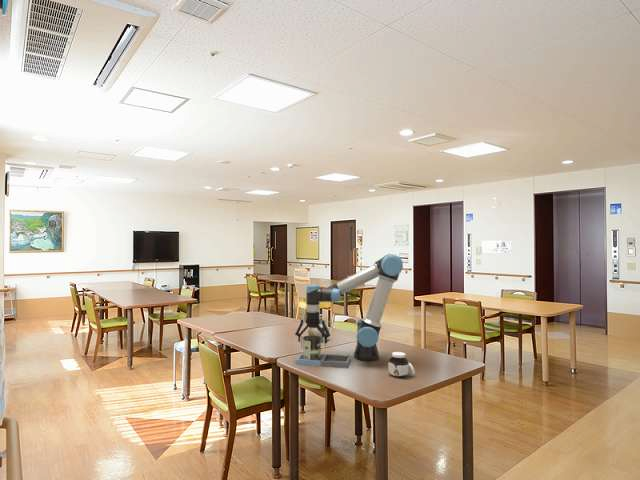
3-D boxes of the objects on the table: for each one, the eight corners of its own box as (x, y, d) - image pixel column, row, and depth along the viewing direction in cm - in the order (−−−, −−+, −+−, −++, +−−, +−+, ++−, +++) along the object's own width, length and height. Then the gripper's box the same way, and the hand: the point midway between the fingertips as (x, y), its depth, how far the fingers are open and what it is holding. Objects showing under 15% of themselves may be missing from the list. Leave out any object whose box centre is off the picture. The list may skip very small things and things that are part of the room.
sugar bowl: (333, 342, 287) (334, 321, 287) (313, 344, 281) (314, 322, 282) (322, 336, 305) (323, 316, 305) (303, 338, 300) (304, 317, 300)
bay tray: (350, 360, 243) (350, 355, 243) (347, 368, 228) (347, 363, 228) (302, 357, 248) (302, 352, 248) (296, 364, 234) (296, 359, 234)
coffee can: (322, 359, 243) (322, 335, 244) (318, 364, 233) (318, 339, 234) (305, 358, 246) (305, 334, 246) (300, 363, 235) (301, 338, 236)
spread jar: (386, 375, 217) (386, 352, 217) (398, 370, 224) (398, 349, 225) (405, 380, 208) (405, 357, 208) (417, 376, 216) (418, 353, 216)
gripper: (335, 311, 241) (334, 347, 241) (293, 309, 246) (293, 345, 246) (333, 313, 234) (332, 351, 233) (290, 311, 239) (289, 348, 238)
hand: (312, 348), depth 240 cm, fingers open, 13 cm apart
